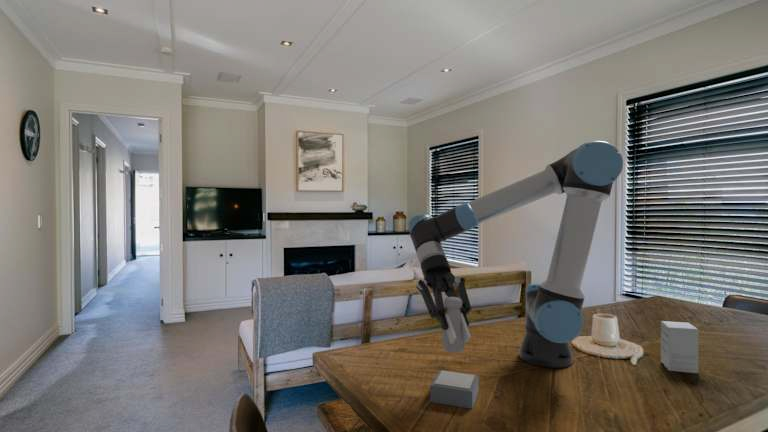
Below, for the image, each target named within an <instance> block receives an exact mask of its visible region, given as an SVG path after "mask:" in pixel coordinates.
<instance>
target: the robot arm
mask: <svg viewBox="0 0 768 432" xmlns="http://www.w3.org/2000/svg"><path fill="white" fill-rule="evenodd" d="M623 166H624V159H623V157H622V154H621V152H620V151H619V150H618V149H617V147H616V146H614V145H613V144H612V143H611V142H610V143H609V142H607V141H603V140H594V141H593V140H592V141H587V142H585V143H583V144H580V145H579V146H578V147H577V148H575V149H573V150H571V151H570V152H568V153H567V154H566V155H565V156H562V157H561V158H559V159H558V160H556V161H554V162H552V163H550V164H547V165H546V166H545V169H543V170H541V171H539V172H537V173H534V174H532V175H530V176H527V177H525V178H522V179H520V180H518V181H516V182H513V183H511V184H508V185H506V186H504V187H502V188H499V189H497V190H495V191H492V192H490V193H487V194H485V195H482V196H480V197H478V198H475V199H474V200H471V201H469V202H465V203H462V204H459V205H456V206H455V207H453V208H451V209H449V210H447V211H444V212H442V213H439V214H438V215H436V216H433V217H431V215H428V214H425V213H424V214H417V215H415V216H413V217H412V218H411V219H410V220H409V222H408V230H409V236H410V238H411V242H412V244H413V248H414V249H415V250H414V251H415V253H416V256H417V260H418V263H419V265H420V269H421V273H422V275H423V277H424V279H419V280H418V282H417V284H416V289H417V290H418V291H419V293H420V294H421V296H422V298H423V301H424V304H425V307H426V309H427V311H428V314H429V315H430V317H431V318H436V320H437V321H438V322H439V323H440V326H441V329H442V331H443V330H447V335H448V338H449V341H450V344H453V343H454V342H455V340H456V339H457V337H456V334H455V331H454V328H453V325H452V322H451V320H450V318H449V315H448V314H446V310H445V303H444V298H443V293H444V294H445V296H447V298H448V297H458V298H460V299H461V300H462V307H461V308H460V314H461V320H462V332H463V339H464V342H465V343H468V342H469V341H470V339H471V338H472V335H471V333H470V332H471V331H470V329H469V326H470V321H469V319H468V316H467V315H469V313H470V311H471V310H472V306H471V302H470V299H469V296H468V293H467V289H466V286H465V285H466V284H465V283H466V282H465V281H466V279H465V278H464V277H460V278H457V277H455V274H453V273H452V269H451V266H450V263H449V261H448V258H447V256H446V252H445V251H444V247H443V246H442V242H445V241H447V240H449V239H451V238H454V237H457V236H458V235H461V234H464V233H465V232H468V231H470V230H472V229H474V228H476V227H478V226H479V224H482V223H484V222H486V221H487V222H488V221H489V220H491V219H494V218H497V217H499V216H501V215H502V216H503V215H504V214H507V213H509V212H512V211H513V210H516V209H519V208H522V207H523V206H527V205H529V204H531V203H534V202H537V201H539V200H541V199H543V198H546V197H548V196H551V195H553V194H557V195H562V194H564V193H565V194H566V199H565V204H564V207H563V210H562V216H561V220H560V224H559V227H558V231H557V235H556V236H557V237H556V241H555V244H554V249H553V252H552V256H551V261H550V264H549V268H548V269H549V270H548V273H547V278H546V280H545V281H543V282H541V283H529V284H526V287H525V293H524V295H525V331H524V332H525V333H524V336H523V338H522V341H521V344H520V347H519V358H520V359H521V360H522V361H524V362H525V363H528V364H531V365H534V366H537V367H544V368H550V369H551V368H552V369H554V368H556V369H560V368H566V367H570V366H571V365H572V364H573V363H574V362H573V360H574V359H573V357H574V356H573V352H572V349H571V346H570V343H569V342H572V341H573V340H575V339H577V338H578V336H579V335H580V334H581V332H582V331H583V328H584V317H583V314H582V309H583V305H584V302H585V301H584V300H585V295H584V293H583V292H582V290H581V286H582V284H583V283H582V282H583V279H584V276H585V275H584V274H585V270H586V267H587V263H588V259H589V254H590V249H591V247H592V242H593V239H594V234H595V230H596V226H597V221H598V217H599V214H600V211H601V206H602V202H604V201H605V200H607V199H608V198H610V195H611V192H612V188H613V184H614V182H615V181H616V180H617V179H618V178H619V176H620V175H621V173H622V171H623V168H624V167H623ZM454 284H455V286H454ZM429 288H430V289H431V290H432V294H433V295H432V294H431V292H430V290H429ZM455 288H456V290H455ZM456 291H457V292H456ZM433 297H434V299H433Z"/></svg>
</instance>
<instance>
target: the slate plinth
mask: <svg viewBox="0 0 768 432" xmlns="http://www.w3.org/2000/svg"><path fill="white" fill-rule="evenodd" d="M479 378H480V377H479V375H478V374H477V375H476V374H471V373H465V372H458V371H456V372H455V371H450V370H449V371H448V370H443V369H442V370H441V369H439V370H438V372H437V373H436V375H435V376H434V378H433V380H432V382H431V383H430V384H429V402H431V403H434V404H435V403H436V404H441V405H448V406H453V407H459V408H463V409H464V408H466V409H469V410H470V409H473V408H474V405H475V403H476V400H477V397H478V394H479V385H480V384H479V383H480V381H479Z"/></svg>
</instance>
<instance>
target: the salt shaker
mask: <svg viewBox="0 0 768 432" xmlns="http://www.w3.org/2000/svg"><path fill="white" fill-rule="evenodd" d="M458 297H459V296H458ZM458 297H448V296H447V297H446V298H445V299H444V308H446V311H445V314H448V315H449V318H450V320H451V322H452V325H453V328H454V331H455V334H456V337H457V339H456V340H455V342H454V343H453V344H450V341H449V338H448V335H447V330H443V329H442V337H441V343H442V346H443V349H444V351H446V352H448V353H449V354H451V353H452V354H458V353H461V352H463V351H464V347H465V345H466V342H464V339H463V332H462V320H461V314H460V308H461V307H462V300H461V299H460V298H458Z"/></svg>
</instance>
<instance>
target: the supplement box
mask: <svg viewBox="0 0 768 432" xmlns="http://www.w3.org/2000/svg"><path fill="white" fill-rule="evenodd" d="M699 330H700V329H698V328H697V327H696V326H695V325H693V324H691V323H690V322H683V321H682V322H681V321H668V320H666V321H665V320H661V321H660V362H661V364H662V363H663V364H664V365H663V364H662V365H663V366H664V367H665V368H666V369H667V371H669V372H679V373H680V372H681V373H688V374H689V373H690V374H699Z"/></svg>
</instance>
